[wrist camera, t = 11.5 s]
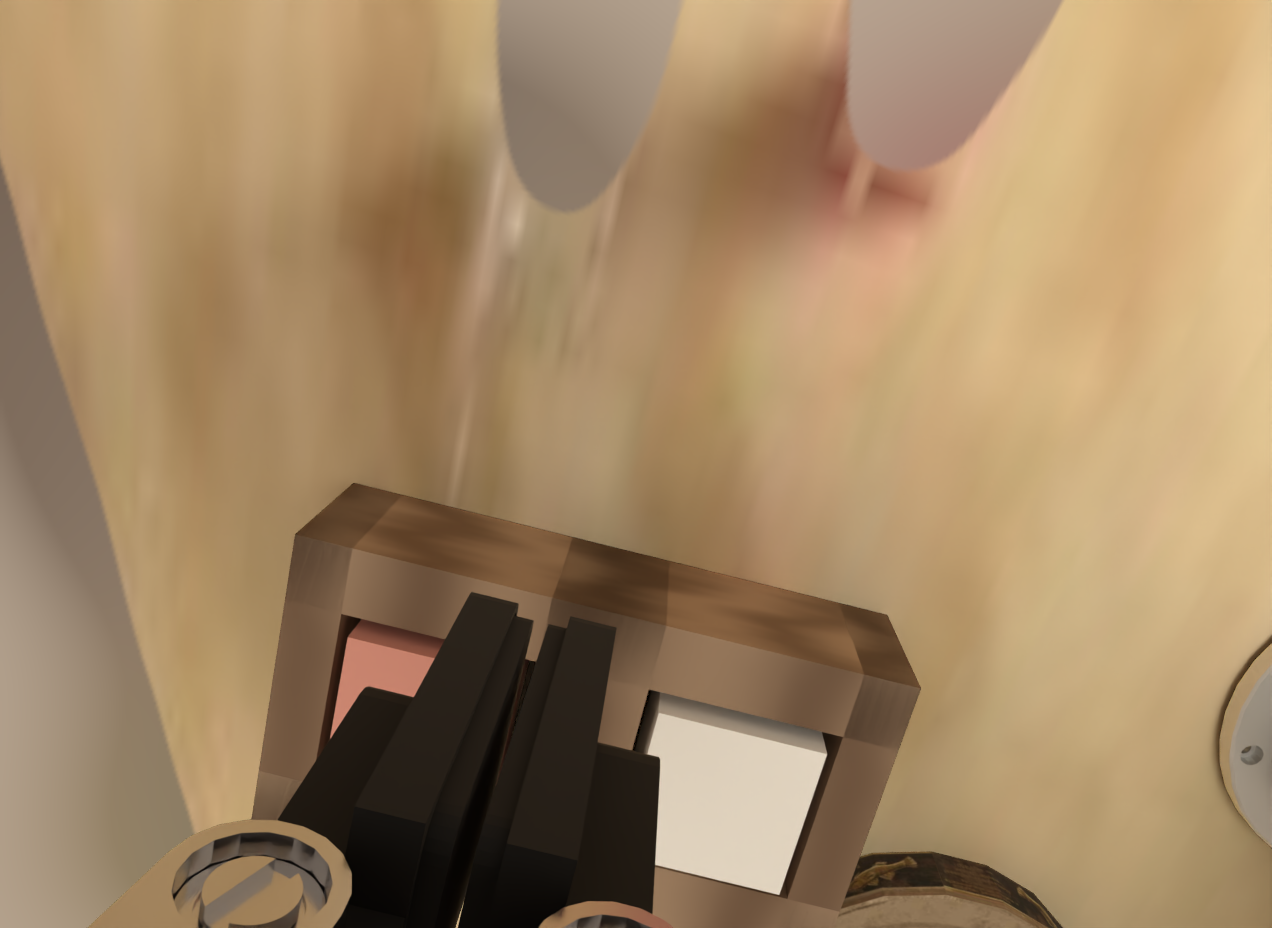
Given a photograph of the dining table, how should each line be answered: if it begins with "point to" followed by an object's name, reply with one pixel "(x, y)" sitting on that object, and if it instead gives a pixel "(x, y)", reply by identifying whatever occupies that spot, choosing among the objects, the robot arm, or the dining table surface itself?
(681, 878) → the frame
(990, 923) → the brown flat disc
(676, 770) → the white block
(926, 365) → the dining table surface
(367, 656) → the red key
